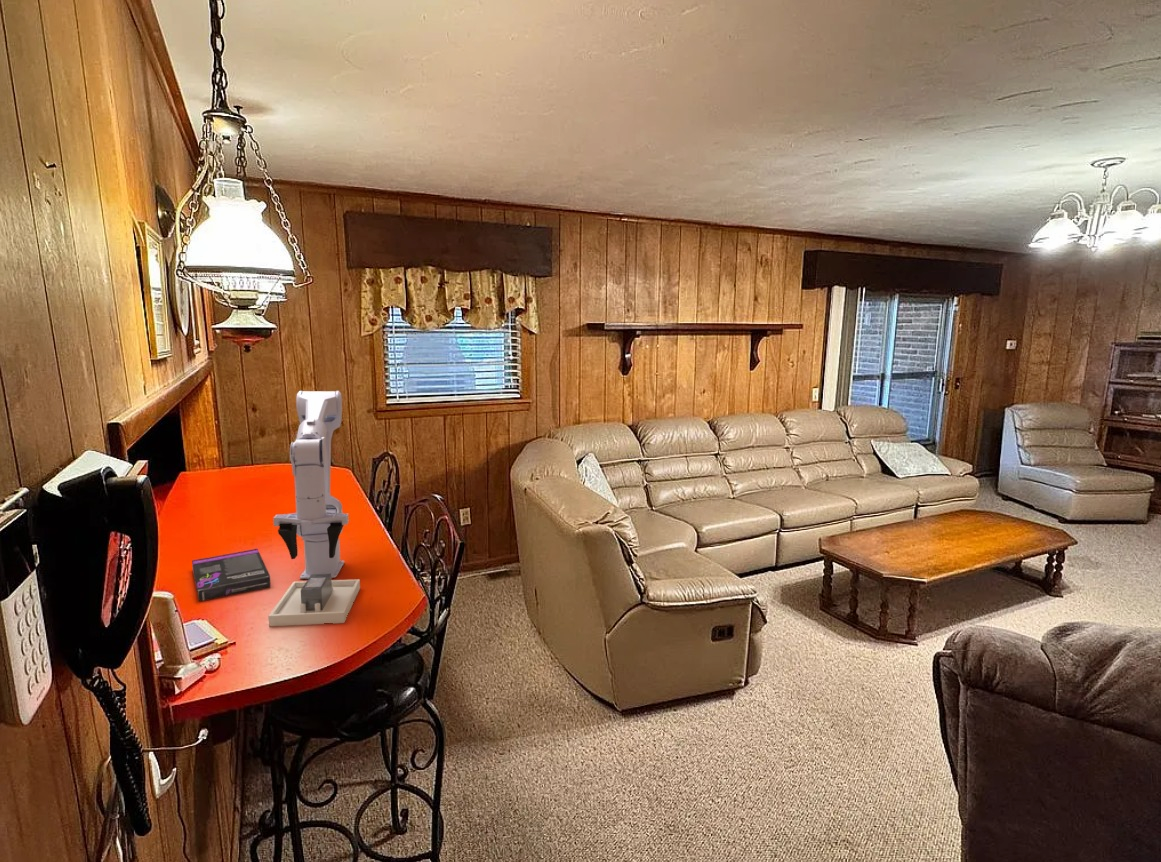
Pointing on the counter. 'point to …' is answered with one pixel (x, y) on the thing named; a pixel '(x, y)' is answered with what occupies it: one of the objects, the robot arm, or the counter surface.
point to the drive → (316, 591)
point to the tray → (333, 612)
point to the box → (230, 574)
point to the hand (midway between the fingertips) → (313, 556)
